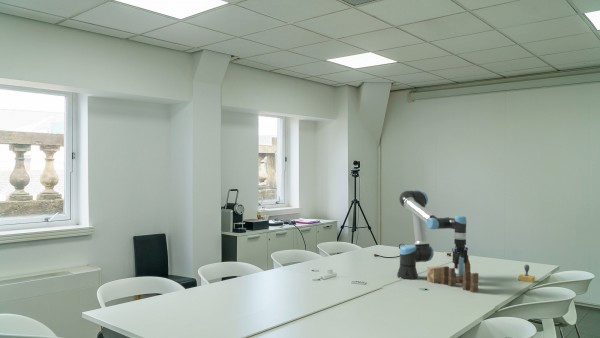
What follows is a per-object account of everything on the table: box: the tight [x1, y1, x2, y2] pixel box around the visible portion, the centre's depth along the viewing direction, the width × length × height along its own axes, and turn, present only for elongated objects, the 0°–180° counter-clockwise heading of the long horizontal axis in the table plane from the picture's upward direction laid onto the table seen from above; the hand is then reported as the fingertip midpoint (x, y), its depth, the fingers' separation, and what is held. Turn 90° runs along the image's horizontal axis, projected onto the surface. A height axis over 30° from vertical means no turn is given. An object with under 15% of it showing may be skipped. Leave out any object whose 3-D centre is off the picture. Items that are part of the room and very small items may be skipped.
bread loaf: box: [453, 254, 471, 284], centre depth 330 cm, size 11×8×20 cm
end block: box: [426, 265, 443, 284], centre depth 331 cm, size 6×12×10 cm, turn 122°
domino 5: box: [469, 272, 479, 293], centre depth 304 cm, size 2×5×12 cm, turn 122°
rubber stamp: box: [517, 264, 536, 283], centre depth 340 cm, size 10×6×12 cm, turn 52°
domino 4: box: [462, 270, 471, 291], centre depth 309 cm, size 2×5×12 cm, turn 122°
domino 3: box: [456, 257, 464, 276], centre depth 314 cm, size 2×5×12 cm, turn 122°
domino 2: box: [447, 267, 457, 287], centre depth 319 cm, size 2×5×12 cm, turn 122°
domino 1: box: [441, 265, 450, 285], centre depth 324 cm, size 2×5×12 cm, turn 122°
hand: (459, 272), depth 314 cm, fingers closed on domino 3, 5 cm apart
